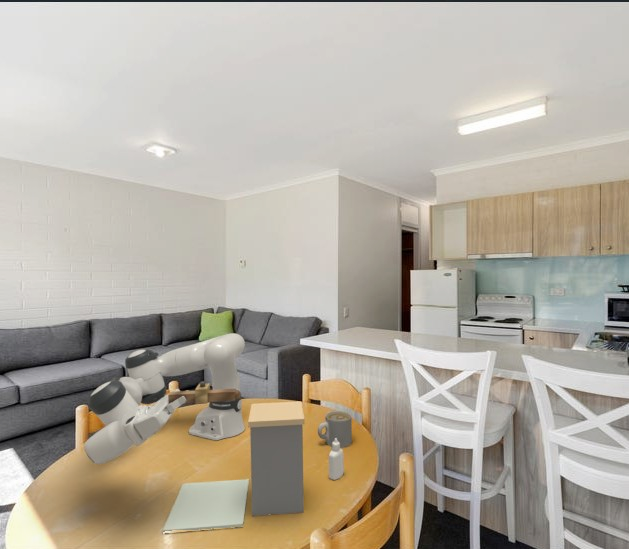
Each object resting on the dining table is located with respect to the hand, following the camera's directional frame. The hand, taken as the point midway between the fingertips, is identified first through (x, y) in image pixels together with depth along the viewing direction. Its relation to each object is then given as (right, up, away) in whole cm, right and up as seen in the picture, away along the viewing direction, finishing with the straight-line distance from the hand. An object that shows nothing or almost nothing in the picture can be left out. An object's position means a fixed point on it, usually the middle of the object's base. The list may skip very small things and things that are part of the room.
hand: (187, 395), depth 102 cm
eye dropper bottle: (+43, -31, +15) cm, 55 cm away
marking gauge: (+4, -2, 0) cm, 5 cm away
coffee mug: (+43, -30, +38) cm, 65 cm away
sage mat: (+6, -32, +1) cm, 32 cm away
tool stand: (+25, -31, +3) cm, 40 cm away
